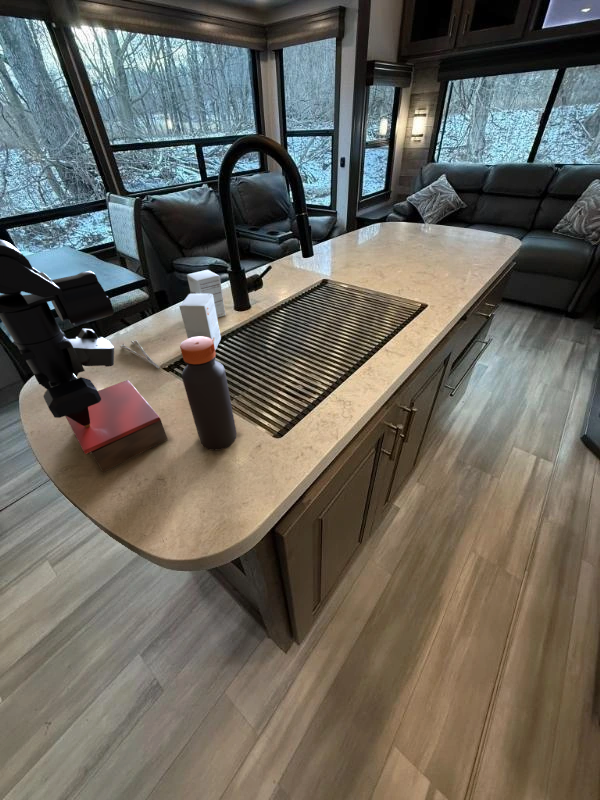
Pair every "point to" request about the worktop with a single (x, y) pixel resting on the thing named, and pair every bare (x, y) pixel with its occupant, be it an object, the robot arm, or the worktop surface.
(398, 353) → the worktop surface
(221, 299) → the white packaging box
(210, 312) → the small box
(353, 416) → the worktop surface
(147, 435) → the valve box
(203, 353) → the dark bottle
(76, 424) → the lid
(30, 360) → the robot arm
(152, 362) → the tweezers
